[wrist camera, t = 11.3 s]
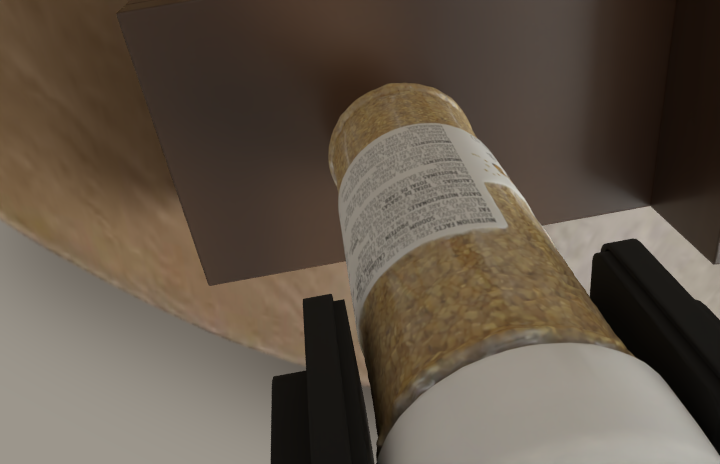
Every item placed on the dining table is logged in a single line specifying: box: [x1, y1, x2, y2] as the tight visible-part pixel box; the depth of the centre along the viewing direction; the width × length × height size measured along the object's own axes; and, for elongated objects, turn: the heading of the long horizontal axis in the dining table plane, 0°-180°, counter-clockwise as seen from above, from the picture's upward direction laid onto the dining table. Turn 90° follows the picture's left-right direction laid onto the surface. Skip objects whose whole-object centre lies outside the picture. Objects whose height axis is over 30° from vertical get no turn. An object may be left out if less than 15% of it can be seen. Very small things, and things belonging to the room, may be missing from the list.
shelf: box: [117, 0, 720, 286], centre depth 21 cm, size 18×10×10 cm, turn 98°
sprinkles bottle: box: [328, 83, 720, 464], centre depth 13 cm, size 5×5×13 cm
